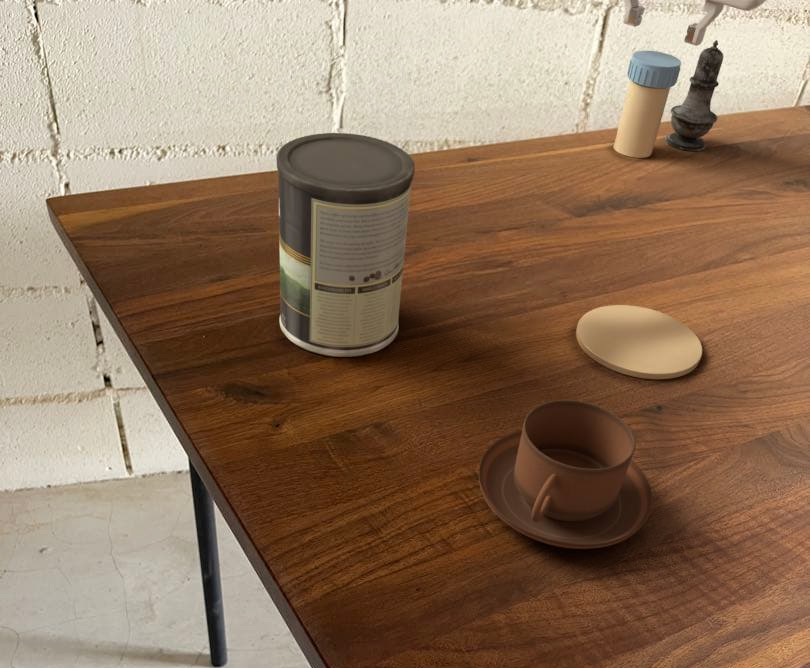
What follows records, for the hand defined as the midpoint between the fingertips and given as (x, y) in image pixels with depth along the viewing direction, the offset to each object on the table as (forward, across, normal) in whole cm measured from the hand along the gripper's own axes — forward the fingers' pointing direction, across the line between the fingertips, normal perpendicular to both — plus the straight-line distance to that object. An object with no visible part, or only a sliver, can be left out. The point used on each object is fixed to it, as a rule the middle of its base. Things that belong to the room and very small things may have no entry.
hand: (661, 33), depth 101 cm
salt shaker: (+13, -4, -8) cm, 16 cm away
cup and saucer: (+13, -28, +63) cm, 70 cm away
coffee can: (+14, -2, +57) cm, 58 cm away
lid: (+3, 0, 0) cm, 3 cm away
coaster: (+13, -22, +40) cm, 47 cm away
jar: (+13, 0, 0) cm, 13 cm away
